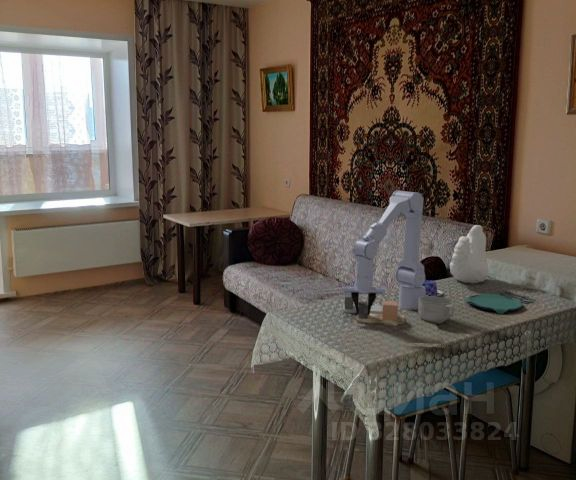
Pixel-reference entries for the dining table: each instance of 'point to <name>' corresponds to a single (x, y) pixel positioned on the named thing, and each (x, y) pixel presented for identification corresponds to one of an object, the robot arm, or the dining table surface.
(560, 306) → the dining table surface
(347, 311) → the grey strip
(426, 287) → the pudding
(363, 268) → the robot arm
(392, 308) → the terracotta cube
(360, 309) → the tan shallow tray
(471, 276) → the decorative rooster
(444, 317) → the teacup
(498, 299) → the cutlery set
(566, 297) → the dining table surface
